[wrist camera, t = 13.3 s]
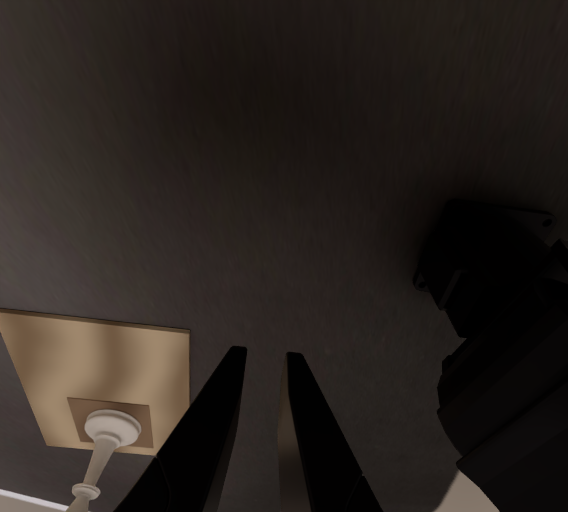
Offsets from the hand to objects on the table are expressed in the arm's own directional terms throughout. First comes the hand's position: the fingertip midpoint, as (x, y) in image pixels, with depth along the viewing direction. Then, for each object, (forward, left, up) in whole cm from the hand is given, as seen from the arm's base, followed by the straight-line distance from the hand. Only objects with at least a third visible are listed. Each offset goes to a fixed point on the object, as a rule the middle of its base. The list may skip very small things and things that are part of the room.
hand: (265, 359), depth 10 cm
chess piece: (+12, +26, -13) cm, 31 cm away
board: (+12, +22, -13) cm, 28 cm away
